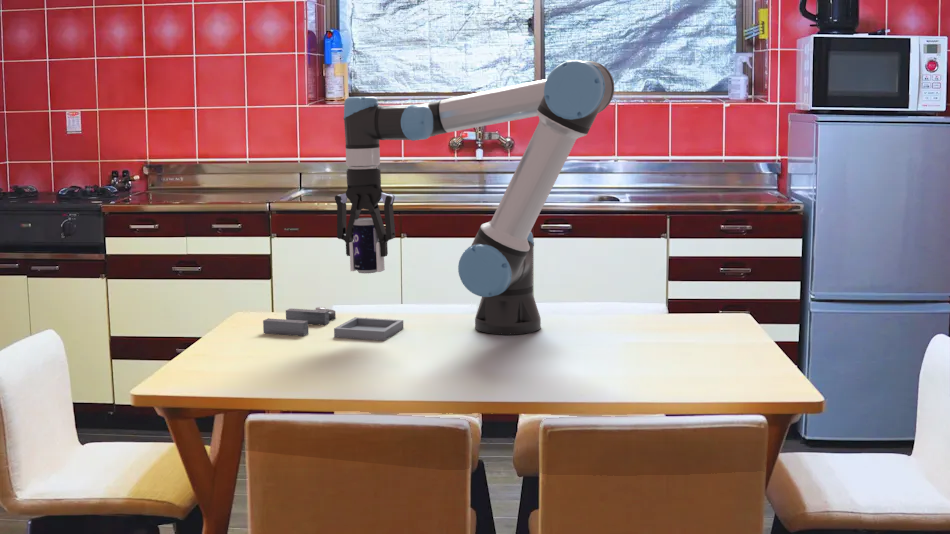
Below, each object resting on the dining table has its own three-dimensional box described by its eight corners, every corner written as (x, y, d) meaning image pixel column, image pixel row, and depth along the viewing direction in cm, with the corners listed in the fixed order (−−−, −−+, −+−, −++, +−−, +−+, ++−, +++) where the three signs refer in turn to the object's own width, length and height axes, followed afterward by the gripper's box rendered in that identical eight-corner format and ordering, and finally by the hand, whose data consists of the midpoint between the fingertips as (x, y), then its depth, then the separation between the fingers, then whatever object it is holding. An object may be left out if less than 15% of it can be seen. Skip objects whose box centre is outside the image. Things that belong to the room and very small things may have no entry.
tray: (403, 328, 254) (403, 320, 253) (384, 340, 242) (384, 331, 242) (355, 325, 257) (355, 317, 257) (334, 337, 246) (334, 328, 245)
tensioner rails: (342, 316, 267) (341, 304, 266) (303, 336, 247) (303, 323, 246) (304, 314, 270) (304, 302, 269) (263, 333, 250) (263, 320, 249)
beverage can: (367, 269, 251) (365, 216, 249) (385, 271, 248) (383, 218, 246) (349, 272, 247) (347, 219, 245) (367, 274, 243) (365, 220, 241)
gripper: (408, 165, 244) (412, 268, 248) (331, 166, 250) (336, 266, 253) (396, 168, 237) (400, 274, 241) (317, 168, 243) (322, 272, 246)
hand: (367, 270), depth 247 cm, fingers closed on beverage can, 6 cm apart
